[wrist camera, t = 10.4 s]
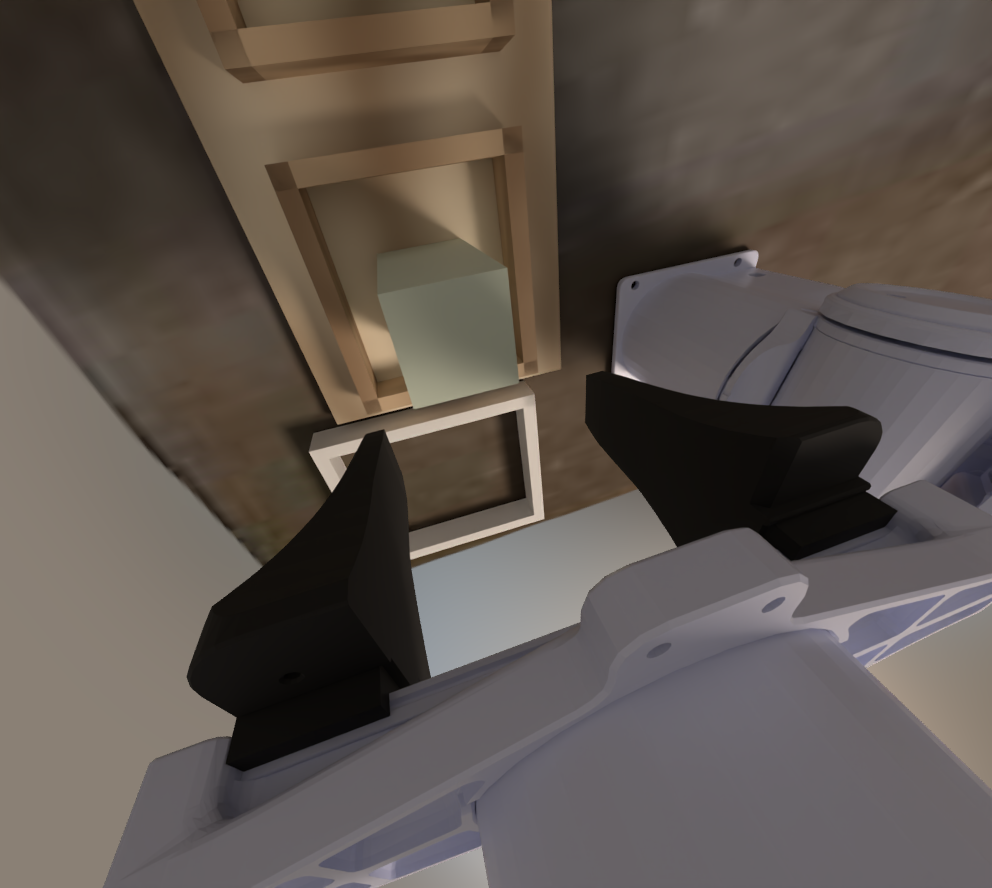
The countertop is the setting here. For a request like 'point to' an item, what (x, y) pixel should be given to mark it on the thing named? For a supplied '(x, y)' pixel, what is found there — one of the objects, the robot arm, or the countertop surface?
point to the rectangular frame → (439, 417)
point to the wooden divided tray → (376, 158)
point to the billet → (448, 320)
